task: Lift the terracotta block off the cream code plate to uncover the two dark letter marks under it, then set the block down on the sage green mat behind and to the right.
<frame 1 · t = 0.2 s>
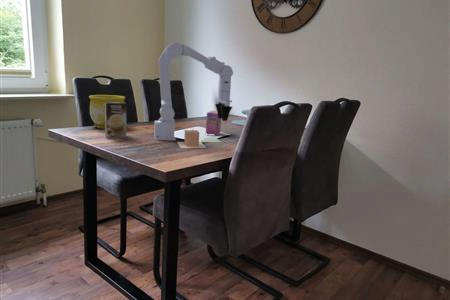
hand: (222, 119, 164), 10 cm above the table, tool pointing down, fingers open, 7 cm apart
flowerpot: (108, 127, 183), on the table
box: (213, 134, 180), on the table
block: (191, 144, 149), on the table, touching code plate
code plate: (191, 145, 150), on the table
coffee box: (115, 137, 160), on the table
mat: (209, 141, 162), on the table
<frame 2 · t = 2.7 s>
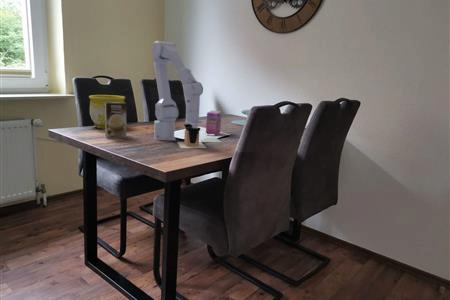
hand: (191, 141, 149), 2 cm above the table, tool pointing down, fingers closed on block, 5 cm apart
block: (191, 144, 149), on the table, touching code plate, gripper
everything else where it was.
when the fingers open (3 cm above the table, at t = 7.8 s): block drops 1 cm, resting on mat.
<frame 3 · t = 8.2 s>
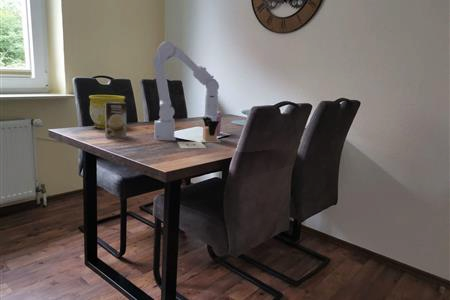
hand: (210, 133, 161), 3 cm above the table, tool pointing down, fingers open, 7 cm apart
block: (209, 139, 162), resting on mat
everything else where it was.
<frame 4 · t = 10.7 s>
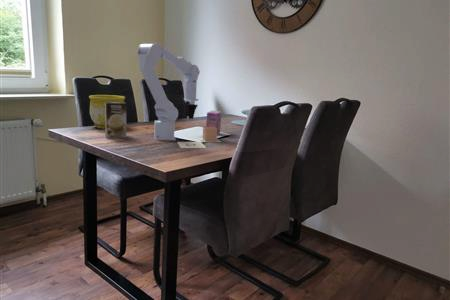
hand: (189, 117, 169), 9 cm above the table, tool pointing down, fingers open, 7 cm apart
nothing on the table moved.
at the end: block 0.1 cm off-centre on the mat, point 0.5 cm above the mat's base; block tilted 0°; block touching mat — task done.
